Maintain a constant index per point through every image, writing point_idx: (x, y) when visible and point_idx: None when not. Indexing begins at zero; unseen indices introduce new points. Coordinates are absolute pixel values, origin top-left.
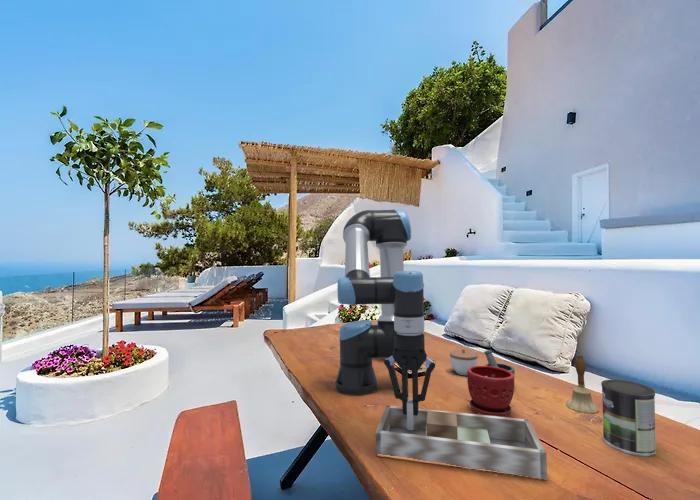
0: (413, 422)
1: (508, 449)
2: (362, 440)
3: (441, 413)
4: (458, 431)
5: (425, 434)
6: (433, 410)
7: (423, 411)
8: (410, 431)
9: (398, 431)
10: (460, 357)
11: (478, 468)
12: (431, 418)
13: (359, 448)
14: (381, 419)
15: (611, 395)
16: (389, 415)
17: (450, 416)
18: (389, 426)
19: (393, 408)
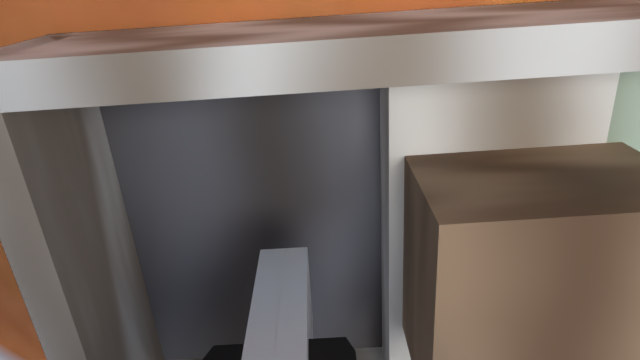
0: (311, 327)
1: None
2: (3, 271)
3: (577, 249)
4: (636, 138)
5: (372, 111)
6: (484, 41)
7: (373, 85)
8: (260, 102)
9: (177, 128)
10: None
11: None
12: (471, 358)
13: (34, 341)
14: (50, 352)
15: None
16: (47, 123)
17: None
18: (92, 108)
19: (45, 107)
